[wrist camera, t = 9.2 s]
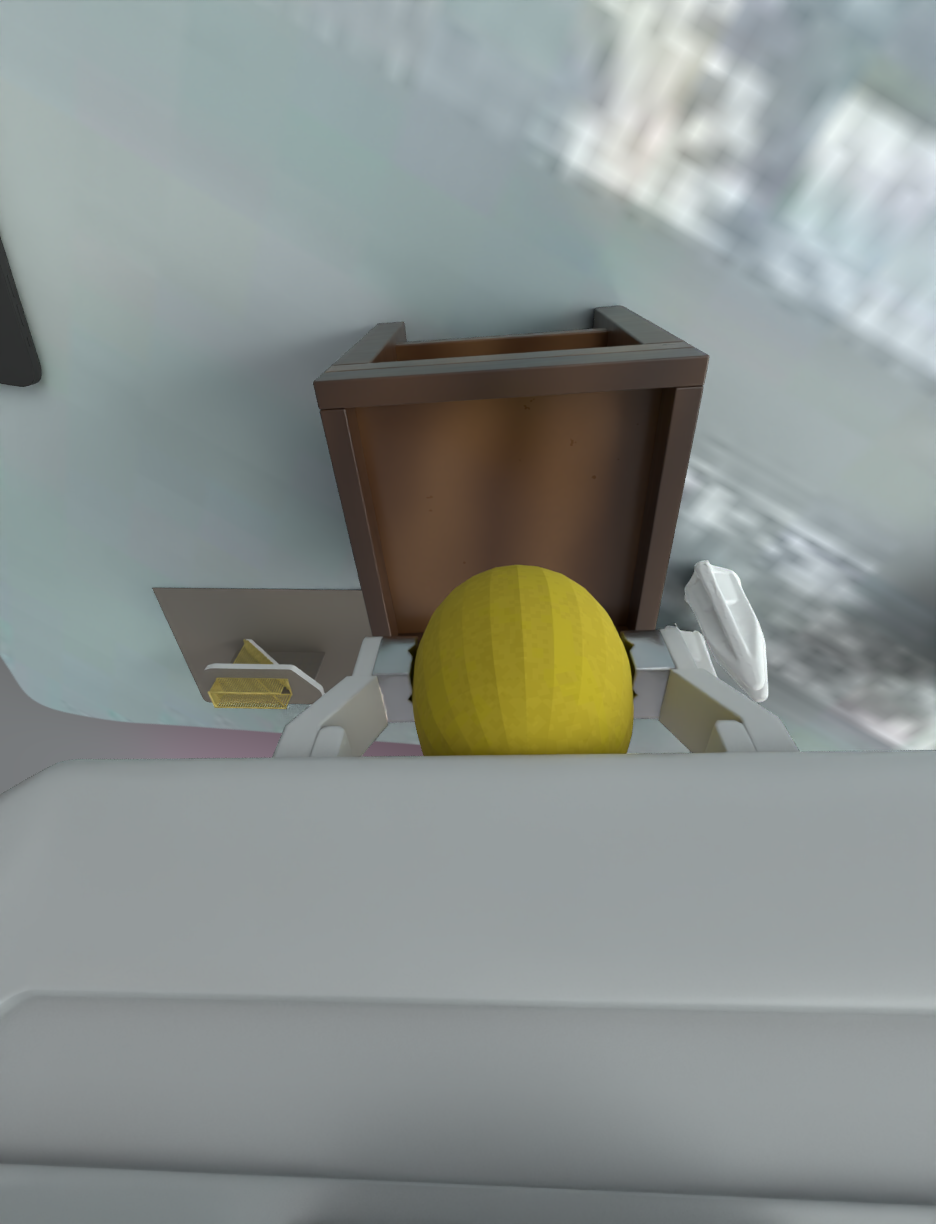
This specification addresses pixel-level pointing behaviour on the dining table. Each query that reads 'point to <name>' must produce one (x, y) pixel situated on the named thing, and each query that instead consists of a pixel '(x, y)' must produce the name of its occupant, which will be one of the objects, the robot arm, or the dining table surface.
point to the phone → (15, 334)
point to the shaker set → (726, 629)
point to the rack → (512, 461)
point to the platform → (266, 641)
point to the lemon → (521, 670)
